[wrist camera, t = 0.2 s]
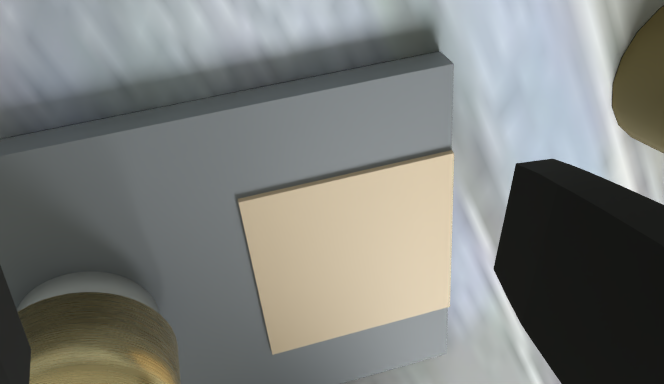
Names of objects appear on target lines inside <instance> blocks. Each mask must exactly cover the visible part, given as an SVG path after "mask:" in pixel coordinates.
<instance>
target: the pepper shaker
mask: <svg viewBox="0 0 664 384" xmlns="http://www.w3.org/2000/svg"><path fill="white" fill-rule="evenodd" d="M612 108H613V111H614V114H615V117H616V120H617V122H618V125H619V126H620V127H621V128H622V129H623V130H624V131H625V132H626V133H627V134H628V135H629V136H630V137H632V138H634V139H636V140H638V141H640V142H642V143H644V144H646V145H648V146H650V147H652V148H654V149H656V150H658V151H660V152H662V153H664V6H663V7H661V8H660V9H659V10H658V11H657V12H656V13H655V14H654V15H653V16H652V17H651V18H650V19H649V20H648V22H647V23H646V24H645V25H644V26H643V27H642V28H641V29H640V30H639V31H638V32H637V34H636V35H635V37H634V39H633V40H632V42H631V44H630V45H629V47H628V48H627V50H626V52H625V53H624V55H623V57H622V58H621V61H620V64H619V67H618V70H617V73H616V76H615V79H614V82H613V96H612Z"/></svg>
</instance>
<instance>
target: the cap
mask: <svg viewBox="0 0 664 384" xmlns="http://www.w3.org/2000/svg"><path fill="white" fill-rule="evenodd" d="M18 315H19V317H20V320H21V323H22V326H23V328H24V331H25V334H26V336H27V339H28V342H29V345H30V347H31V362H30V380H29V384H181V380H180V368H179V356H178V344H177V340H176V336H175V334H174V332H173V329H172V328H171V326H170V325H169V323H168V322H167V321H166V320H165V319H164V318H163V317H162V316H161V315H160V314H159V313H158V312H156V311H155V310H154V309H152V308H150V307H149V306H147V305H145V304H143V303H141V302H139V301H136V300H134V299H131V298H128V297H124V296H121V295H115V294H110V293H100V292H79V293H69V294H64V295H58V296H54V297H51V298H47V299H44V300H41V301H38V302H36V303H34V304H31V305H29V306H27V307H25V308H24V309H22V310H20V311H18Z"/></svg>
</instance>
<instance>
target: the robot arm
mask: <svg viewBox="0 0 664 384" xmlns="http://www.w3.org/2000/svg"><path fill="white" fill-rule="evenodd" d="M494 271H495V273H496V275H497V277H498V279H499V281H500V283H501V285H502V287H503V290H504V292H505V294H506V296H507V298H508V300H509V302H510V304H511V306H512V307H513V309H514V311H515V313H516V315H517V317H518V319H519V321H520V323H521V325H522V326H523V328H524V329H525V331H526V332H527V334H528V335H529V337H530V338H531V340H532V341H533V343H534V344H535V346H536V347H537V349H538V350H539V351H540V353H541V354H542V356H543V357H544V359H545V360H546V362H547V363H548V365H549V366H550V368H551V369H552V370H553V372H554V373H555V375H556V376H557V378H558V379H559V381H560V382H561V383H562V384H664V205H663V204H660V203H658V202H656V201H654V200H651V199H649V198H647V197H645V196H642V195H640V194H638V193H636V192H633V191H631V190H629V189H627V188H624V187H622V186H620V185H618V184H615V183H613V182H611V181H609V180H606V179H604V178H602V177H599V176H597V175H595V174H592V173H590V172H587V171H585V170H582V169H580V168H577V167H575V166H572V165H570V164H567V163H564V162H561V161H558V160H555V159H547V160H540V161H532V162H525V163H517V164H516V166H515V171H514V176H513V181H512V185H511V190H510V195H509V199H508V204H507V209H506V213H505V218H504V223H503V227H502V232H501V237H500V242H499V246H498V251H497V256H496V260H495V265H494ZM30 362H31V347H30V345H29V342H28V339H27V336H26V334H25V331H24V328H23V326H22V323H21V320H20V317H19V315H18V312H17V309H16V306H15V304H14V301H13V298H12V295H11V293H10V290H9V287H8V284H7V282H6V279H5V276H4V274H3V271H2V268H1V265H0V384H29V380H30Z"/></svg>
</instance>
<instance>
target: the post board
mask: <svg viewBox="0 0 664 384" xmlns="http://www.w3.org/2000/svg"><path fill="white" fill-rule="evenodd" d="M453 69H454V64H453V63H452V62H451V61H450V60H449V59H448V58H447V57H446V56H445V55H443V54H442V53H441V52H435V53H430V54H425V55H420V56H415V57H410V58H405V59H400V60H395V61H390V62H385V63H380V64H375V65H370V66H365V67H360V68H355V69H350V70H345V71H340V72H335V73H330V74H325V75H320V76H315V77H310V78H305V79H300V80H295V81H290V82H285V83H280V84H275V85H270V86H265V87H260V88H255V89H250V90H245V91H240V92H235V93H230V94H225V95H220V96H215V97H210V98H205V99H200V100H195V101H190V102H185V103H180V104H175V105H170V106H165V107H160V108H155V109H150V110H145V111H140V112H135V113H130V114H125V115H120V116H115V117H110V118H105V119H100V120H95V121H89V122H84V123H79V124H74V125H69V126H64V127H59V128H54V129H49V130H44V131H39V132H34V133H29V134H24V135H19V136H14V137H9V138H4V139H0V265H1V268H2V271H3V274H4V276H5V279H6V282H7V284H8V287H9V290H10V293H11V295H12V298H13V301H14V304H15V306H16V309H17V312H18V311H20V310H22V309H24V308H25V307H27V306H29V305H31V304H34V303H36V302H38V301H41V300H44V299H47V298H51V297H54V296H58V295H64V294H69V293H79V292H100V293H110V294H115V295H121V296H124V297H128V298H131V299H134V300H136V301H139V302H141V303H143V304H145V305H147V306H149V307H150V308H152V309H154V310H155V311H156V312H158V313H159V314H160V315H161V316H162V317H163V318H164V319H165V320H166V321H167V322H168V323H169V325H170V326H171V328H172V329H173V332H174V334H175V336H176V340H177V344H178V356H179V368H180V380H181V384H343V383H346V382H350V381H353V380H357V379H360V378H364V377H367V376H371V375H374V374H378V373H381V372H385V371H388V370H392V369H395V368H399V367H402V366H406V365H409V364H413V363H417V362H420V361H424V360H427V359H431V358H434V357H438V356H441V355H445V354H446V352H447V312H448V307H450V283H451V246H452V210H453V174H454V153H453V151H452V110H453Z"/></svg>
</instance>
